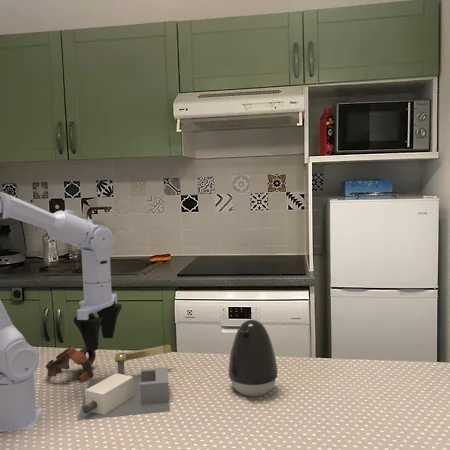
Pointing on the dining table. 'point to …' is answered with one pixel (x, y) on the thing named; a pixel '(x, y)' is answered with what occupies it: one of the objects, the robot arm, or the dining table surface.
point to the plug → (109, 394)
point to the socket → (138, 395)
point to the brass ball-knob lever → (142, 353)
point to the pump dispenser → (252, 360)
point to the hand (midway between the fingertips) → (100, 343)
